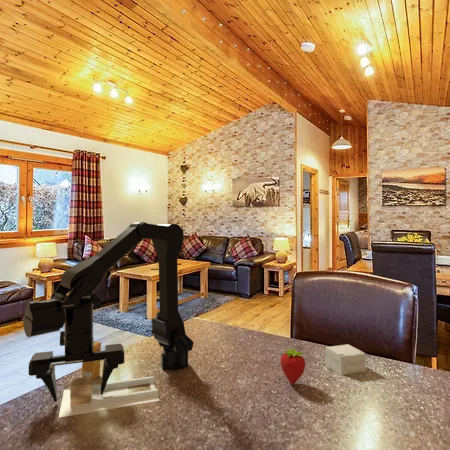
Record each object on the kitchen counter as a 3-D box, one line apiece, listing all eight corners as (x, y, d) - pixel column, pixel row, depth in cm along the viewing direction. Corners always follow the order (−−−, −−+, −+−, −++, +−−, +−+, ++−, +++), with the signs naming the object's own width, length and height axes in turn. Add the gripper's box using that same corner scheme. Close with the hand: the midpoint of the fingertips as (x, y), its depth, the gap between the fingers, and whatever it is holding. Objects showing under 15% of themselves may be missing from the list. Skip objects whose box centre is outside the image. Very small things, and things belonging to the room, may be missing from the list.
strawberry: (298, 376, 92) (299, 338, 92) (309, 390, 85) (309, 349, 85) (276, 378, 91) (277, 339, 91) (285, 392, 84) (286, 350, 84)
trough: (151, 383, 88) (151, 372, 88) (159, 407, 77) (159, 395, 77) (64, 396, 82) (64, 384, 82) (58, 425, 70) (58, 411, 70)
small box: (348, 361, 103) (348, 343, 103) (366, 372, 96) (366, 353, 95) (324, 364, 101) (324, 346, 101) (341, 375, 93) (341, 356, 93)
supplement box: (93, 386, 86) (93, 346, 86) (81, 385, 87) (81, 345, 87) (101, 380, 90) (101, 341, 89) (89, 379, 90) (89, 340, 90)
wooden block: (90, 393, 80) (90, 376, 80) (90, 402, 76) (90, 384, 76) (71, 396, 78) (71, 379, 78) (70, 405, 75) (70, 387, 75)
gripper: (121, 313, 88) (121, 375, 88) (36, 320, 81) (37, 387, 82) (124, 326, 77) (124, 397, 77) (27, 335, 71) (28, 412, 71)
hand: (79, 397), depth 77 cm, fingers open, 9 cm apart
